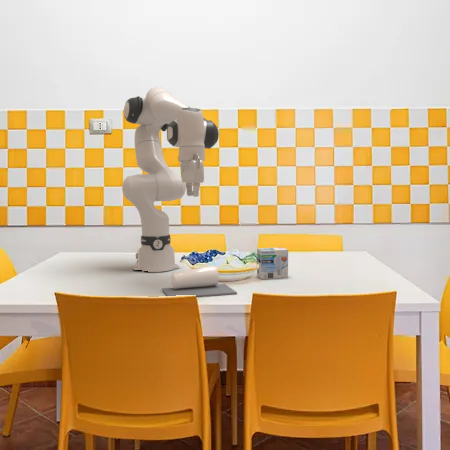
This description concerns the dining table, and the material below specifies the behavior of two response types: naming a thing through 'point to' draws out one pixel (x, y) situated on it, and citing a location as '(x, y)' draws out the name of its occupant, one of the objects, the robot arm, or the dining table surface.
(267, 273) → the light bulb box
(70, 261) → the dining table surface
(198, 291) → the slate rubber mat
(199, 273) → the drinking glass
